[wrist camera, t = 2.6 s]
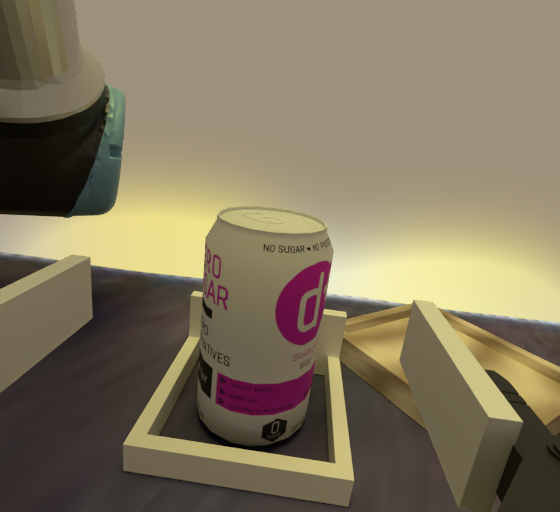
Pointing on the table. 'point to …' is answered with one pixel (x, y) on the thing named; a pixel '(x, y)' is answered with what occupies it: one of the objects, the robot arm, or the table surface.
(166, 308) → the table surface
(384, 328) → the tray
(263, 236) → the supplement can
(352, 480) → the dock
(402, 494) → the table surface
